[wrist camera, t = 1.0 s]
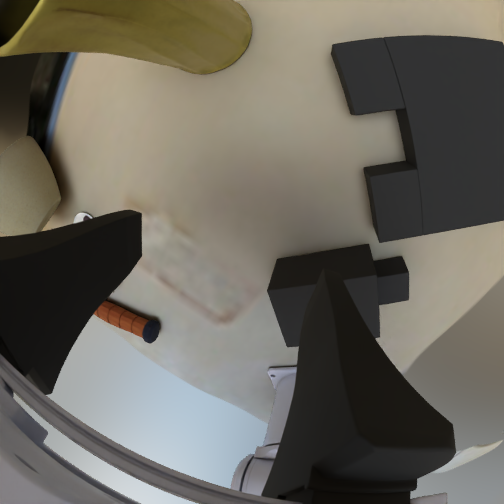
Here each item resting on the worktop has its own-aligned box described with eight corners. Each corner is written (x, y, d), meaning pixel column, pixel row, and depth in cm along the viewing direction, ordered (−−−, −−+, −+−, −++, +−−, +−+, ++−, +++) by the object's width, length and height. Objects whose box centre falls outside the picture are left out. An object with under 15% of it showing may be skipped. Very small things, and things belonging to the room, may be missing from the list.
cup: (14, 276, 20) (-30, 235, 16) (55, 218, 27) (18, 184, 24) (34, 218, 16) (-20, 165, 12) (89, 162, 23) (45, 122, 20)
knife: (20, 248, 30) (34, 268, 34) (10, 261, 28) (26, 280, 32) (155, 313, 27) (165, 331, 31) (144, 335, 25) (156, 351, 29)
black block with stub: (403, 297, 20) (412, 332, 17) (293, 313, 23) (286, 347, 20) (401, 237, 18) (415, 268, 14) (276, 258, 21) (266, 290, 18)
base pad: (507, 203, 14) (524, 216, 12) (373, 226, 18) (379, 243, 16) (485, 46, 9) (502, 42, 7) (330, 52, 13) (331, 44, 11)
